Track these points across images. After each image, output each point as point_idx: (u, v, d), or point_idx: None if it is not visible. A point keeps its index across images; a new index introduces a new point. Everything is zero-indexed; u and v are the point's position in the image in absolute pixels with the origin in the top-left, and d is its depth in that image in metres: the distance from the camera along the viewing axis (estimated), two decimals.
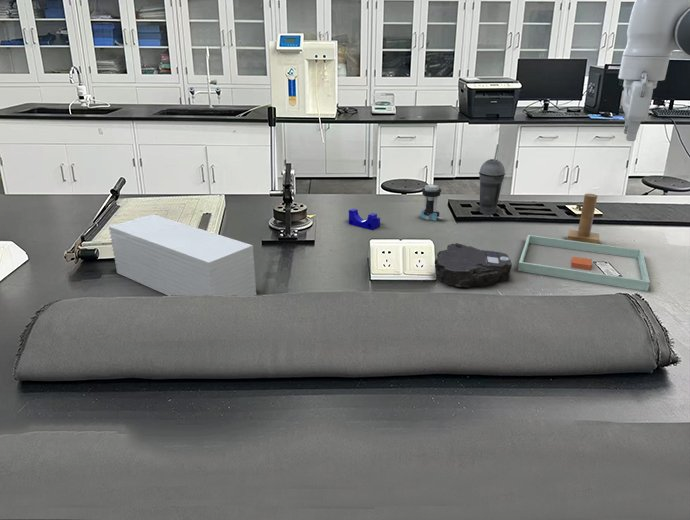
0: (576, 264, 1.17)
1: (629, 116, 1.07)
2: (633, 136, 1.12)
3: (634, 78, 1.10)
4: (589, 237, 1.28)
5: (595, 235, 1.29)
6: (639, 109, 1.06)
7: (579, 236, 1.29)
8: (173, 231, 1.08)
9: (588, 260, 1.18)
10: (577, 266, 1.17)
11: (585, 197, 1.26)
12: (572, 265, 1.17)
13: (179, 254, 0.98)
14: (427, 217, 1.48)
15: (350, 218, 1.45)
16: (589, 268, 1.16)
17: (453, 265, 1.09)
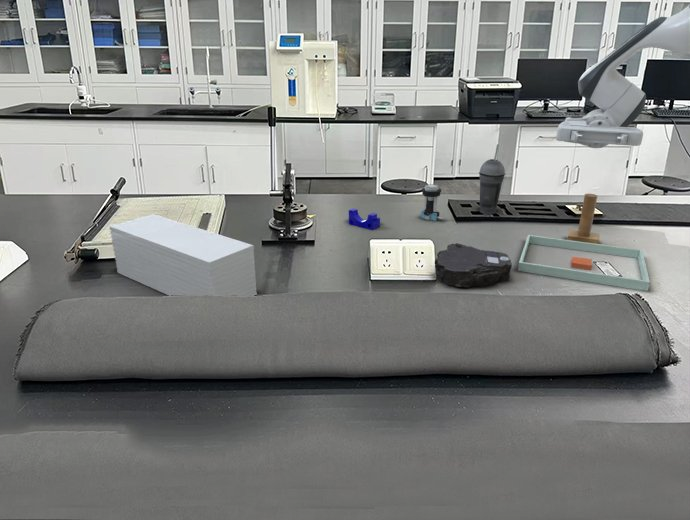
0: (576, 264, 1.17)
1: (642, 132, 1.33)
2: (622, 142, 1.31)
3: (616, 126, 1.40)
4: (589, 237, 1.28)
5: (595, 235, 1.29)
6: None
7: (579, 236, 1.29)
8: (174, 231, 1.08)
9: (588, 260, 1.18)
10: (577, 266, 1.17)
11: (585, 197, 1.26)
12: (572, 265, 1.17)
13: (180, 254, 0.98)
14: (427, 217, 1.48)
15: (350, 218, 1.45)
16: (589, 268, 1.16)
17: (453, 265, 1.09)
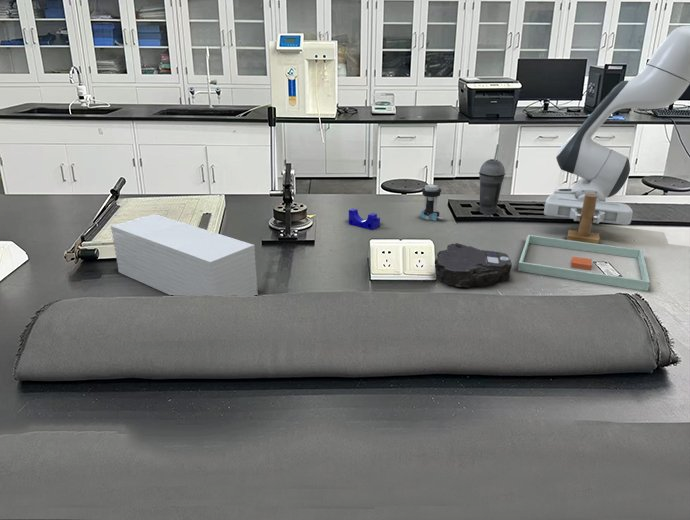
0: (576, 264, 1.17)
1: (632, 211, 1.28)
2: (599, 221, 1.28)
3: (605, 201, 1.36)
4: (589, 237, 1.28)
5: (595, 235, 1.29)
6: None
7: (579, 236, 1.29)
8: (175, 231, 1.08)
9: (588, 260, 1.18)
10: (577, 266, 1.17)
11: (585, 197, 1.26)
12: (572, 265, 1.17)
13: (181, 253, 0.98)
14: (427, 217, 1.48)
15: (350, 218, 1.45)
16: (589, 268, 1.16)
17: (453, 265, 1.09)
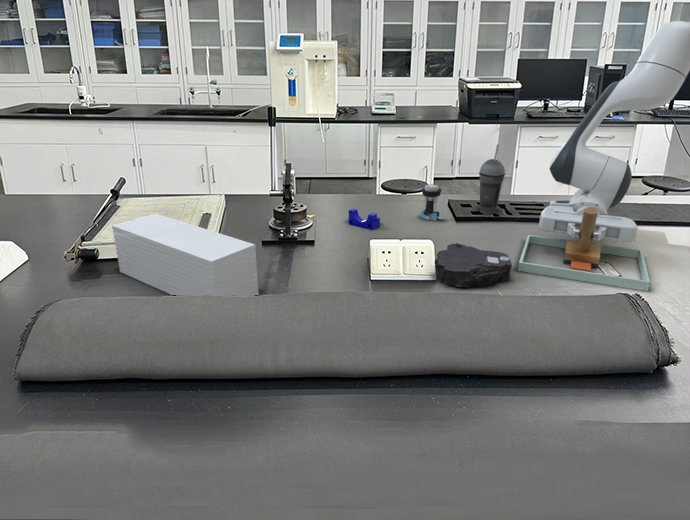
0: (575, 268, 1.14)
1: (636, 227, 1.15)
2: (599, 237, 1.15)
3: (607, 215, 1.23)
4: (588, 253, 1.16)
5: (595, 249, 1.17)
6: None
7: (578, 253, 1.17)
8: (176, 230, 1.09)
9: (587, 264, 1.16)
10: None
11: (584, 213, 1.12)
12: None
13: (182, 253, 0.99)
14: (427, 217, 1.48)
15: (350, 218, 1.45)
16: None
17: (453, 265, 1.09)
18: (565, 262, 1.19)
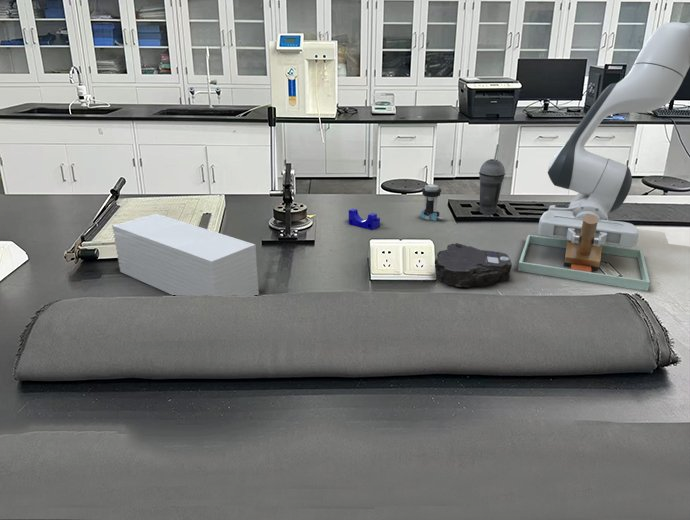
0: None
1: (638, 233, 1.12)
2: None
3: (607, 219, 1.20)
4: (589, 257, 1.14)
5: (596, 251, 1.15)
6: None
7: (578, 256, 1.15)
8: (176, 230, 1.09)
9: (588, 267, 1.14)
10: None
11: (584, 222, 1.09)
12: None
13: (182, 253, 0.99)
14: (427, 217, 1.48)
15: (350, 218, 1.45)
16: None
17: (453, 265, 1.09)
18: (565, 264, 1.17)
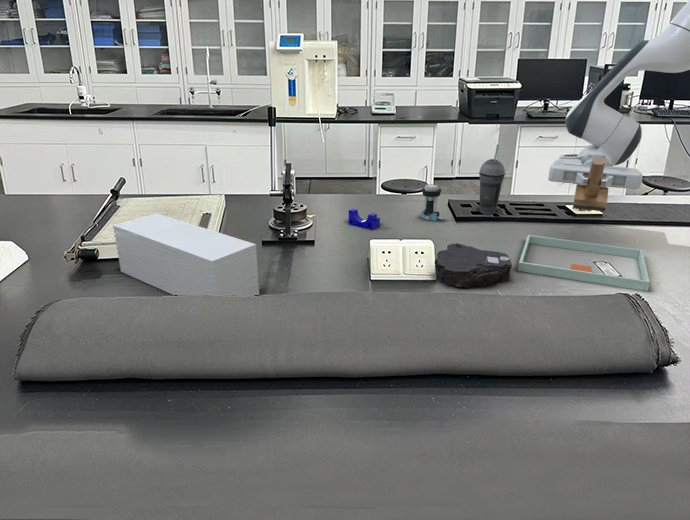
0: None
1: (641, 175, 1.21)
2: (607, 184, 1.21)
3: None
4: (596, 198, 1.24)
5: (603, 193, 1.24)
6: None
7: (586, 198, 1.24)
8: (177, 230, 1.09)
9: (588, 267, 1.14)
10: None
11: (592, 164, 1.18)
12: None
13: (183, 253, 0.99)
14: (427, 217, 1.48)
15: (350, 218, 1.45)
16: None
17: (453, 265, 1.09)
18: (574, 207, 1.27)
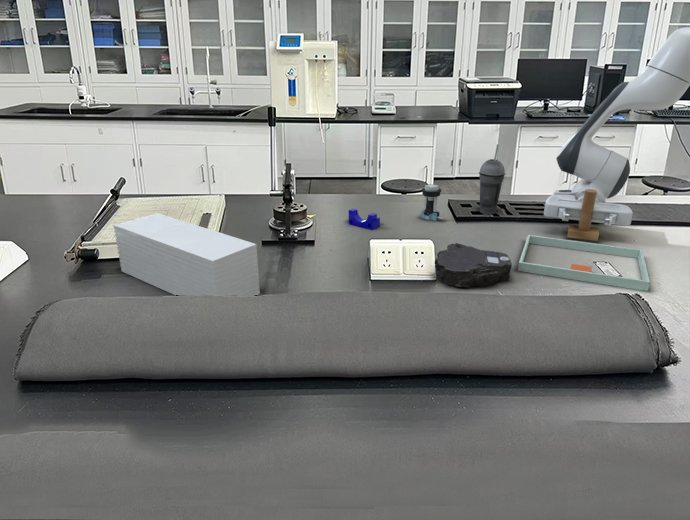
0: None
1: (632, 213, 1.28)
2: (611, 223, 1.27)
3: (605, 202, 1.36)
4: (589, 231, 1.32)
5: (594, 230, 1.33)
6: None
7: (579, 231, 1.32)
8: (177, 230, 1.09)
9: (588, 267, 1.14)
10: None
11: (585, 193, 1.30)
12: None
13: (183, 252, 0.99)
14: (427, 217, 1.48)
15: (350, 218, 1.45)
16: None
17: (453, 265, 1.09)
18: None
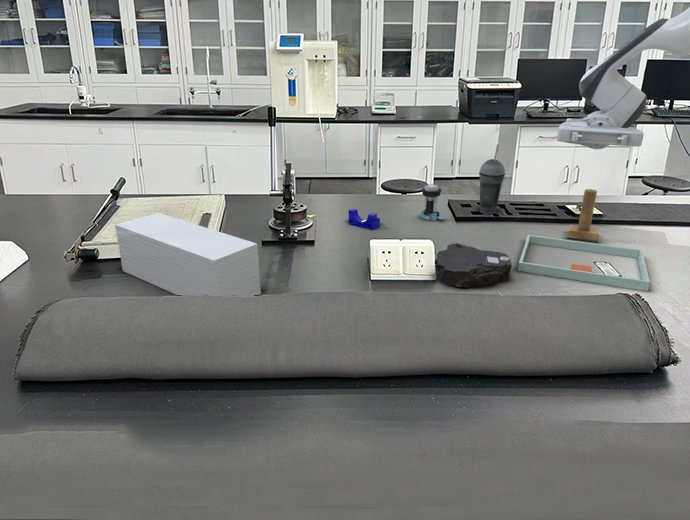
0: None
1: (643, 133, 1.33)
2: (622, 142, 1.31)
3: (616, 127, 1.41)
4: (589, 231, 1.32)
5: (594, 230, 1.33)
6: None
7: (579, 231, 1.33)
8: (179, 230, 1.09)
9: (588, 267, 1.14)
10: None
11: (585, 193, 1.30)
12: None
13: (184, 252, 0.99)
14: (427, 217, 1.48)
15: (350, 218, 1.45)
16: None
17: (453, 265, 1.09)
18: None
